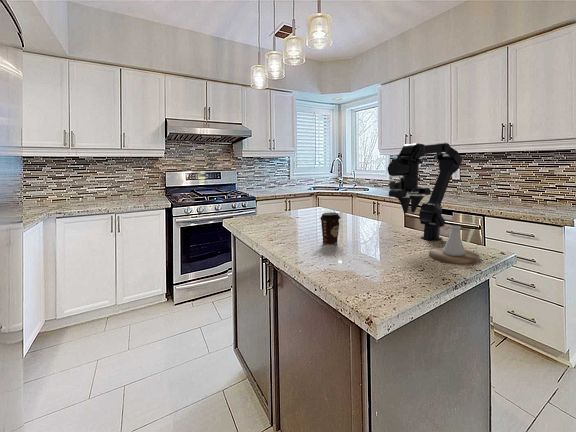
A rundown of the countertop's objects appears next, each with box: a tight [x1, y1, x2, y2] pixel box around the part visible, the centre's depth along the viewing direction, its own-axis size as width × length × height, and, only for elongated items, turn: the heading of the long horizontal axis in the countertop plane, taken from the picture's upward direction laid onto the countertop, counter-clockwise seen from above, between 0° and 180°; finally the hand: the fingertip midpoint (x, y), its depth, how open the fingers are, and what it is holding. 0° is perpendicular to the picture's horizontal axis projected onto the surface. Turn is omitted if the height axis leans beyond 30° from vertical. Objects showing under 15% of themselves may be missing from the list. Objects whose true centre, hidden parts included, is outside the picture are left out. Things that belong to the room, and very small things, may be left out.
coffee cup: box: [319, 212, 341, 246], centre depth 135 cm, size 9×8×13 cm
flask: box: [442, 225, 466, 256], centre depth 112 cm, size 7×7×10 cm
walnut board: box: [428, 247, 481, 265], centre depth 113 cm, size 16×16×1 cm
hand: (409, 213), depth 131 cm, fingers open, 4 cm apart
